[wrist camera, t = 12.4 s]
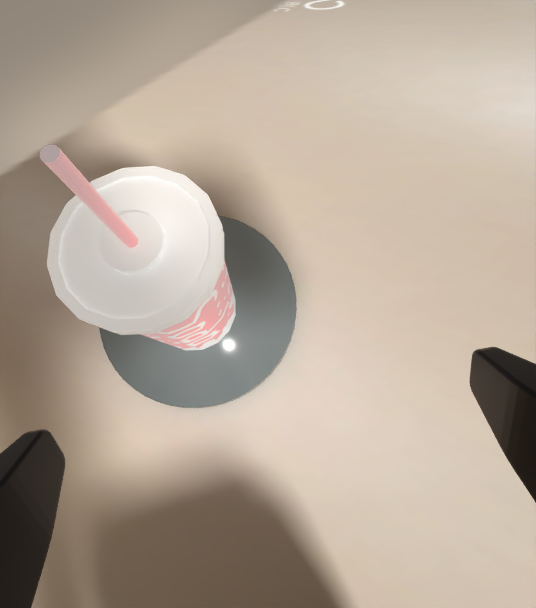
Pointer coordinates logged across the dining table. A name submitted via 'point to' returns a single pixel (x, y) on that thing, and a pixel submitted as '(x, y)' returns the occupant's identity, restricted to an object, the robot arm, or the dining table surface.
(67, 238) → the beverage cup
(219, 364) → the coaster
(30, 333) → the dining table surface
